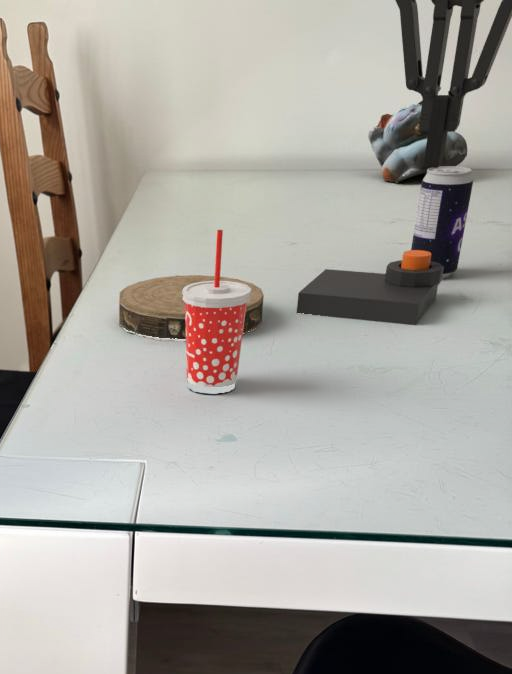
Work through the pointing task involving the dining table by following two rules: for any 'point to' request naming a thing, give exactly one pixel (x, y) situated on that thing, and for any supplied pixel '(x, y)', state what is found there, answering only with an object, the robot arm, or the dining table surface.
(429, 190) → the beverage can
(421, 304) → the scale
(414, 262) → the button
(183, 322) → the wood slice
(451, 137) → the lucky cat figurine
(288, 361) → the dining table surface
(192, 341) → the beverage cup
